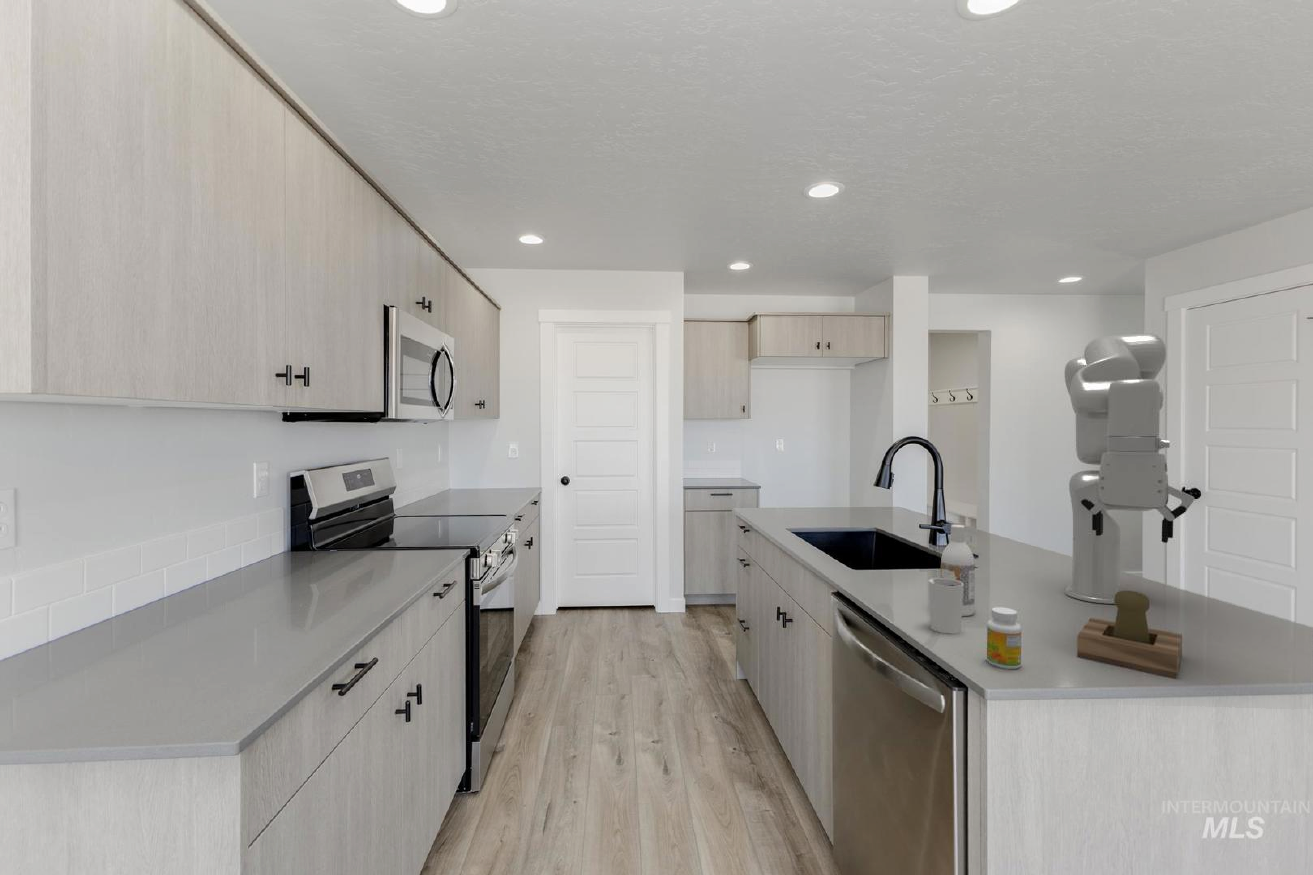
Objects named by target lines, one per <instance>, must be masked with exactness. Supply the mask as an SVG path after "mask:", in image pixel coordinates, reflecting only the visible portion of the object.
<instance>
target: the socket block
mask: <svg viewBox="0 0 1313 875" xmlns="http://www.w3.org/2000/svg"><path fill="white" fill-rule="evenodd" d="M1114 627H1115V621H1110V620H1105V619H1101V618H1095V617H1090V618H1089V619H1088V620H1087V622H1086V623H1085V625H1084V626H1083V627H1082V628H1081V630H1080V631H1079V632H1078V634H1077V636H1076V638H1077V641H1076V642H1077V643H1076V645H1077V646H1076V647H1077V649H1076V652H1077V653H1076V654H1077V656H1076V657H1077V658H1082V659H1087V660H1091V661H1095V662H1100V663H1105V664H1108V665H1109V664H1110V665H1113V666H1117V667H1122V668H1123V667H1124V668H1127V669H1132V670H1136V671H1140V672H1145V673H1150V674H1154V675H1158V676H1164V677H1168V678H1172V679H1177V677H1178V673H1179V668H1180V664H1181V660H1182V656H1183V655H1182V654H1183V652H1182V651H1183V633H1177V632H1171V631H1167V630H1166V631H1165V630H1160V629H1156V628H1155V629H1154V628H1149V627H1148V633H1149V639H1150V644H1145V643H1140V642H1134V641H1129V640H1124V639H1119V638H1114V637H1113V632H1114Z"/></svg>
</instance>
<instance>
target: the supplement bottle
mask: <svg viewBox="0 0 1313 875" xmlns="http://www.w3.org/2000/svg"><path fill="white" fill-rule="evenodd" d="M991 618H992V619H989V620H988V621H987V624H986V661H987V662H988V664H990V665H992V666H994V667H998V668H1001V669H1006V670H1015V669H1019V668H1020V667H1021V665H1022V627H1021V624H1019V623H1017V622H1016V621H1017V620H1018V612H1017V610H1014V609H1012V608H1008V607H1001V606H999V607H998V606H997V607H992V609H991Z"/></svg>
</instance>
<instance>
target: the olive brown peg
mask: <svg viewBox="0 0 1313 875" xmlns="http://www.w3.org/2000/svg"><path fill="white" fill-rule="evenodd" d="M1114 602H1115V604H1114V605H1115V606H1116V607H1117V611H1116V617H1115V620H1114V622H1115V627H1114V632H1113V637H1114V638H1119V639H1124V640H1129V641H1134V642H1140V643H1145V644H1150V639H1149V633H1148V628H1149V626H1148V620H1147V614H1146V612H1147V611H1149V609H1150V606H1151V605H1150V604H1151V603H1150V599H1149V598H1148V596H1147V595H1146V594H1143V593H1142V592H1137V591H1133V590H1119V592H1117V593H1116V594H1115V597H1114Z"/></svg>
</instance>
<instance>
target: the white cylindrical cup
mask: <svg viewBox="0 0 1313 875" xmlns="http://www.w3.org/2000/svg"><path fill="white" fill-rule="evenodd" d="M963 586H964V584H963V583H962V582H960V581H957V580H953V579H946V578H941V577H934V578H930V579H928V594H929V617H930V618H929V619H930V620H929V622H930V628H931V630H932V631H935V632H937V633H940V634H941V633H942V634H947V633H950V634H949V635H952V634H953V635H956V634H960V633H961V632H962V618H963V616H962V603H963Z"/></svg>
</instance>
